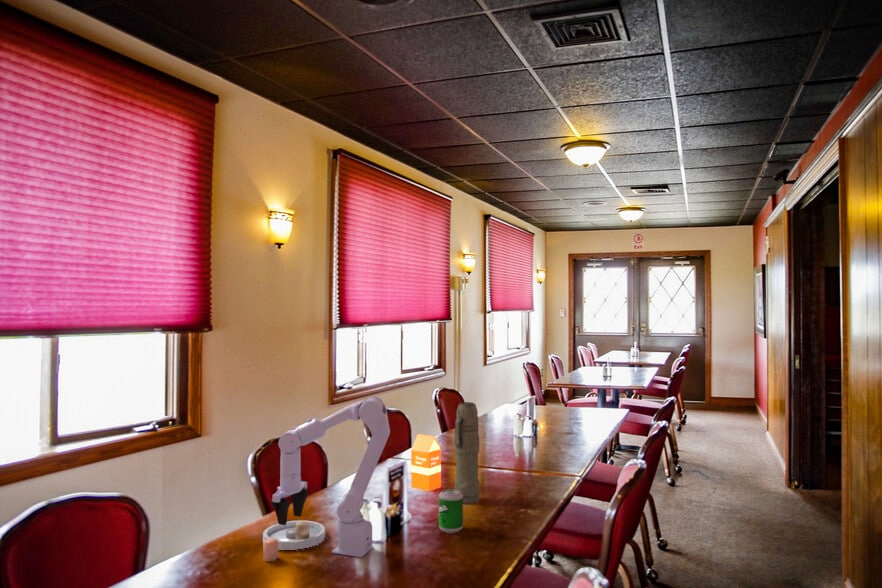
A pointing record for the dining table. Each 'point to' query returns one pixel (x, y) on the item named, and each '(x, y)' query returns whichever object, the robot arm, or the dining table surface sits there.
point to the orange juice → (426, 463)
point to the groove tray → (294, 535)
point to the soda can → (450, 510)
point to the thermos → (467, 452)
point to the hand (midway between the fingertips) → (290, 520)
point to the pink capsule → (270, 549)
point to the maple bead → (302, 530)
